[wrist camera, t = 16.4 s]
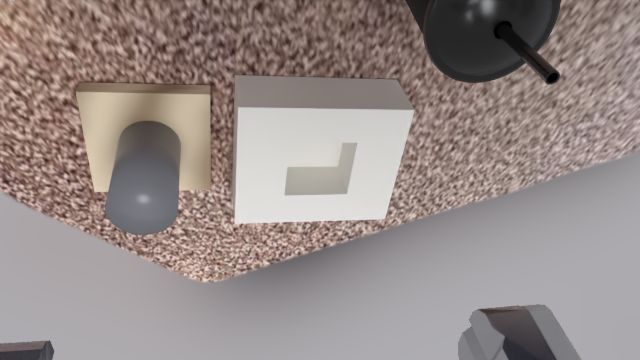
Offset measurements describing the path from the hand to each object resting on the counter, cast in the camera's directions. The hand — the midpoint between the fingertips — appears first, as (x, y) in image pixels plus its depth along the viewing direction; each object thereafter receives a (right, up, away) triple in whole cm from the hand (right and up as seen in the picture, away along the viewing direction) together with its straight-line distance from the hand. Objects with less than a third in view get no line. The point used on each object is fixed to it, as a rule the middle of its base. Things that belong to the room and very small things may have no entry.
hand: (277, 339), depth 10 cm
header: (0, +7, +38) cm, 38 cm away
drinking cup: (+8, +21, +29) cm, 36 cm away
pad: (-14, +7, +35) cm, 38 cm away
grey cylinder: (-13, +6, +34) cm, 37 cm away
